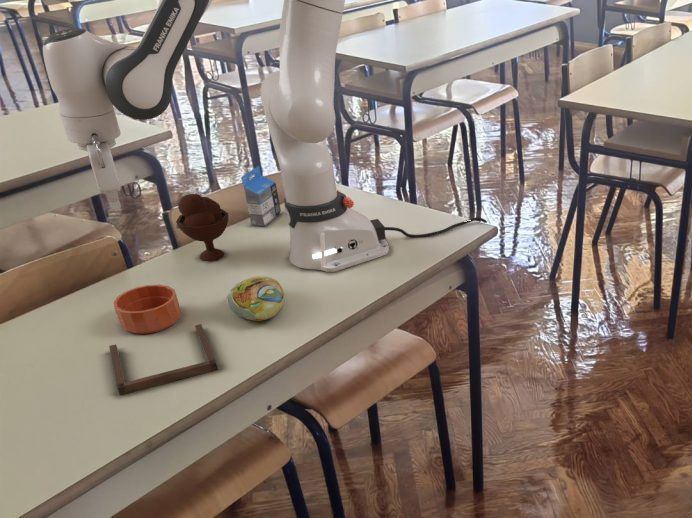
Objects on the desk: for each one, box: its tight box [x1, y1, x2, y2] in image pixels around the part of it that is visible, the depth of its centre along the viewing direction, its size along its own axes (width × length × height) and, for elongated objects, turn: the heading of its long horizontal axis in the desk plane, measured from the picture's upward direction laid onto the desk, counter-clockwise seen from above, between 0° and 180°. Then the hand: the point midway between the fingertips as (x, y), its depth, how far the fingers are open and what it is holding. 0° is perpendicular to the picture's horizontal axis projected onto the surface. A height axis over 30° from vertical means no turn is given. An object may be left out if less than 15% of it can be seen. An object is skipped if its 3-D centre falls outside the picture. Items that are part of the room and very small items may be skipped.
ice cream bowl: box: [175, 193, 230, 263], centre depth 169 cm, size 11×11×15 cm
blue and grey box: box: [240, 165, 282, 227], centre depth 187 cm, size 9×4×12 cm, turn 167°
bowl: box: [113, 284, 183, 335], centre depth 149 cm, size 11×11×5 cm
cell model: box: [227, 275, 285, 322], centre depth 152 cm, size 11×8×15 cm
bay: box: [108, 323, 219, 396], centre depth 138 cm, size 16×15×2 cm
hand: (113, 200), depth 146 cm, fingers open, 8 cm apart
